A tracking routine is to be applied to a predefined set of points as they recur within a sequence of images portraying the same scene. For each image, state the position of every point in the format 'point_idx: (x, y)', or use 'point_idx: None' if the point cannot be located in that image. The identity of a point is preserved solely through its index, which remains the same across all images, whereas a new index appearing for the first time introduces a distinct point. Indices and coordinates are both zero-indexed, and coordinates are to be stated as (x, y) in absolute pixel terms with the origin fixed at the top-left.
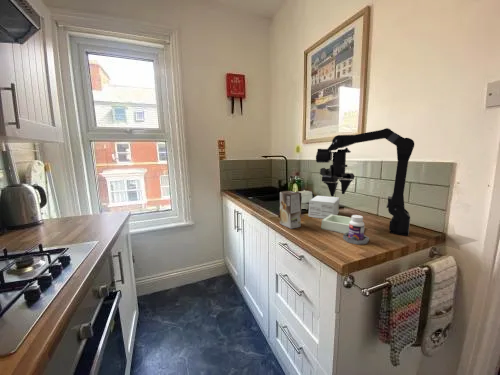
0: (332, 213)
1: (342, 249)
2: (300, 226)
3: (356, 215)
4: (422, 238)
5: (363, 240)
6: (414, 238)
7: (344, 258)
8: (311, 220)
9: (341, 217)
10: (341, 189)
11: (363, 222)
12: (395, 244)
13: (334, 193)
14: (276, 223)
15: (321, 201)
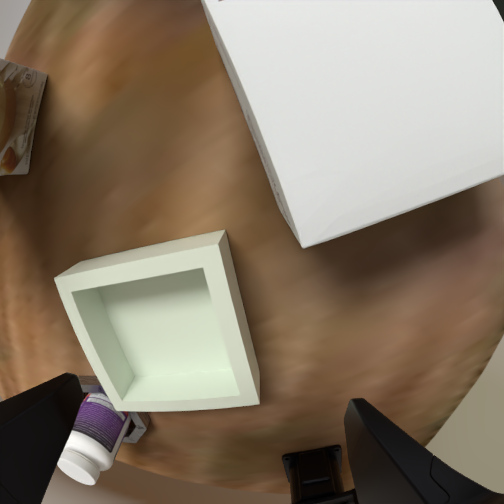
0: (283, 215)
1: None
2: (26, 173)
3: (80, 471)
4: None
5: None
6: (284, 487)
7: None
8: (154, 119)
9: (220, 324)
10: (373, 439)
11: (101, 470)
12: (187, 473)
13: (67, 432)
14: None
15: (251, 95)
